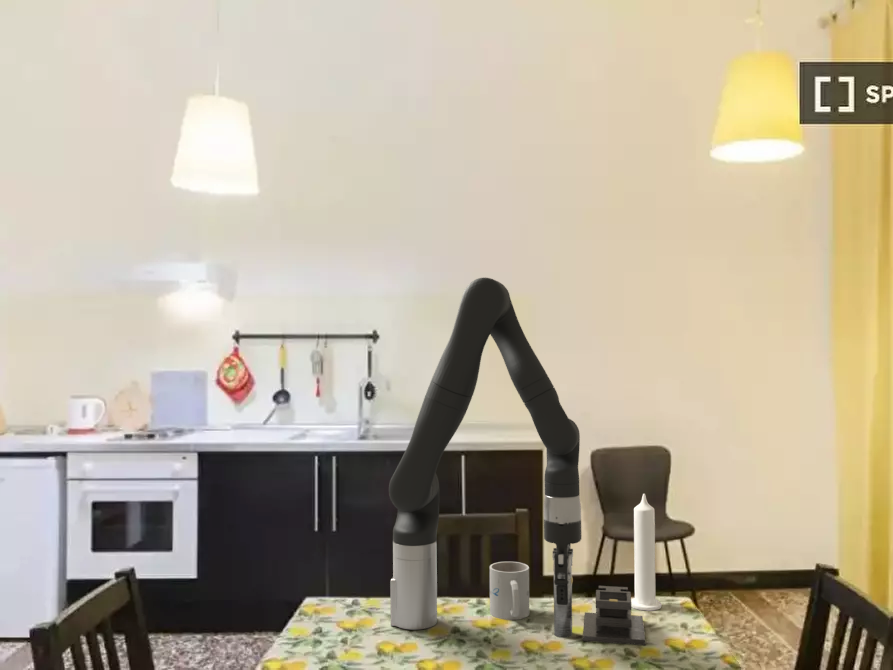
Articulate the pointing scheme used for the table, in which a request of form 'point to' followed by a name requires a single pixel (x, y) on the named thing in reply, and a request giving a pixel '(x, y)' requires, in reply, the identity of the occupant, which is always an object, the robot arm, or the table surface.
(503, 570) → the mug
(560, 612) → the tube
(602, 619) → the bracket
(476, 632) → the table surface
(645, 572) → the candle
